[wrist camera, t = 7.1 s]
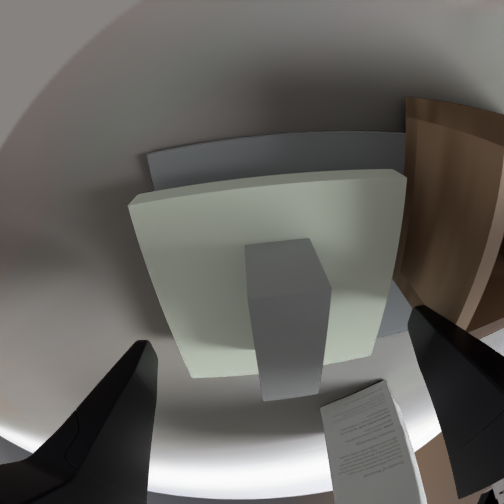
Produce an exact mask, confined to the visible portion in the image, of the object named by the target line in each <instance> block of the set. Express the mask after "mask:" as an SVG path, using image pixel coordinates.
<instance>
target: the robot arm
mask: <svg viewBox="0 0 504 504" xmlns="http://www.w3.org/2000/svg"><path fill="white" fill-rule="evenodd" d="M407 327H408V331H409V335H410V338H411V341H412V344H413V348H414V351H415V355H416V358H417V361H418V364H419V367H420V370H421V372H422V375H423V378H424V380H425V383H426V386H427V388H428V391H429V394H430V397H431V400H432V402H433V405H434V408H435V411H436V414H437V417H438V420H439V424H440V427H441V430H442V433H443V437H444V440H445V444H446V447H447V451H448V455H449V459H450V463H451V467H452V472H453V475H454V480H455V485H456V490H457V495H458V499H461V498H464V497H466V496H468V495H471V494H473V493H475V492H478V491H480V490H482V489H484V488H486V487H488V486H490V485H492V487H491V488H490V489H488V490H487V491H486V492H484V493H483V494H481V497H480V499H479V502H478V504H504V356H502V355H501V354H499V353H498V352H495V350H493V349H492V348H491V347H489V346H488V345H486V344H485V343H483V342H482V341H480V340H479V339H477V338H476V337H474V336H473V335H471V334H470V333H468V332H467V331H465V330H464V329H462V328H461V327H459V326H457V325H456V324H454V323H453V322H451V321H450V320H448V319H447V318H445V317H443V316H442V315H440V314H439V313H437V312H436V311H434V310H432V309H431V308H429V307H428V306H426V305H424V304H421V305H417V306H414V307H413V309H412V311H411V314H410V317H409V320H408V324H407ZM157 371H158V358H157V355H156V353H155V351H154V349H153V347H152V345H151V343H150V342H149V341H148V340H137V341H136V342H135V343H134V344H133V345H132V346H131V347H130V348H129V350H128V351H127V352H126V353H125V354H124V355H123V356H122V357H121V358H120V360H119V361H118V362H117V363H116V364H115V365H114V366H113V367H112V369H111V370H110V371H109V372H108V373H107V374H106V375H105V377H104V378H103V379H102V380H101V381H100V382H99V383H98V385H97V386H96V387H95V388H94V389H93V390H92V391H91V393H90V394H89V395H88V396H87V397H86V398H85V399H84V401H83V402H82V403H81V404H80V405H79V406H78V408H77V409H76V410H75V411H74V412H73V413H72V414H71V416H70V417H69V418H68V419H67V420H66V421H65V422H64V424H63V425H62V426H61V427H60V428H59V429H58V430H57V431H56V432H55V433H54V434H53V435H52V436H51V437H50V438H49V439H48V440H47V441H46V442H45V443H44V444H43V445H42V446H41V447H39V448H38V449H37V450H36V451H35V452H34V453H33V454H32V455H31V456H29V457H28V458H26V459H24V460H21V461H18V462H12V463H7V464H1V465H0V504H147V502H146V501H147V487H148V473H149V461H150V451H151V441H152V432H153V424H154V416H155V408H156V400H157Z"/></svg>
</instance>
